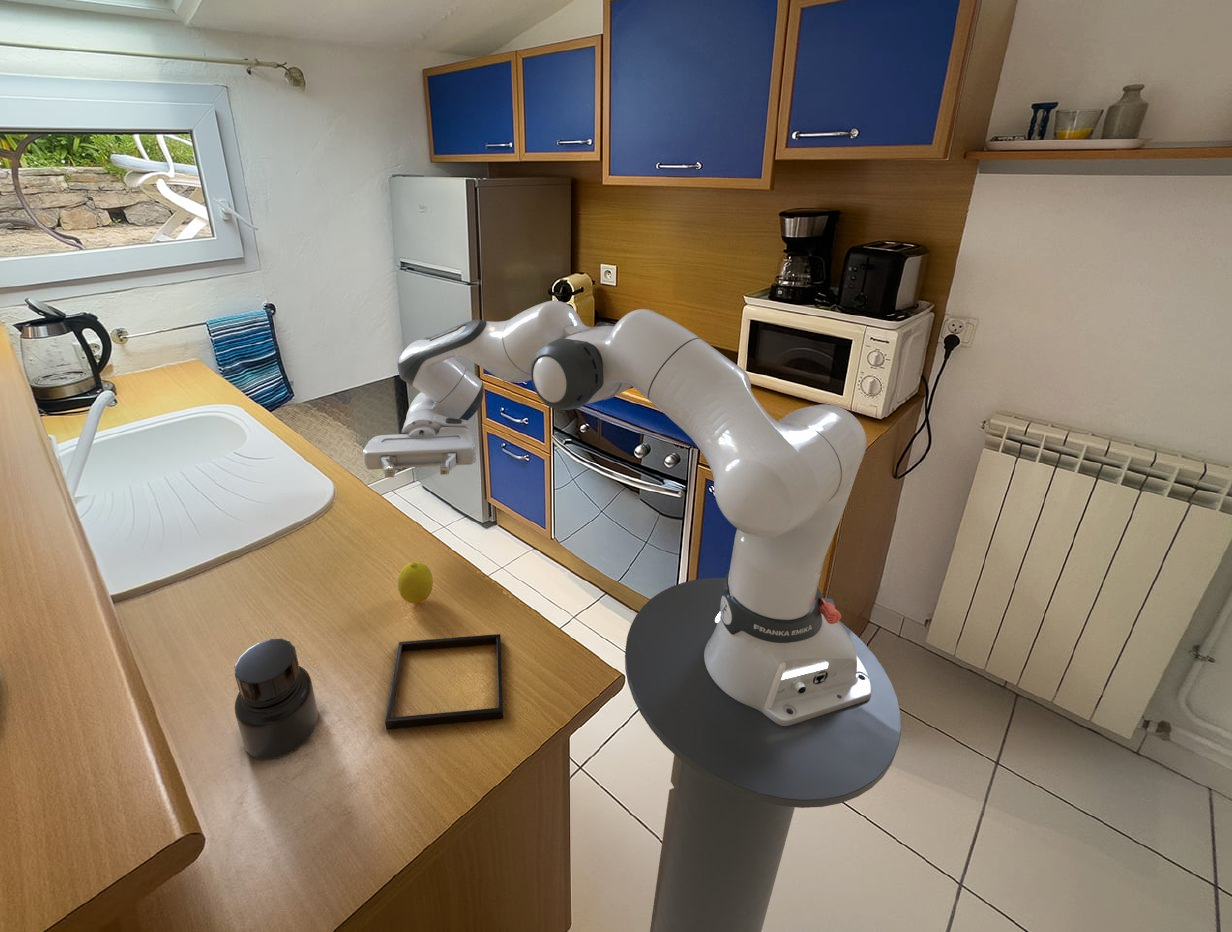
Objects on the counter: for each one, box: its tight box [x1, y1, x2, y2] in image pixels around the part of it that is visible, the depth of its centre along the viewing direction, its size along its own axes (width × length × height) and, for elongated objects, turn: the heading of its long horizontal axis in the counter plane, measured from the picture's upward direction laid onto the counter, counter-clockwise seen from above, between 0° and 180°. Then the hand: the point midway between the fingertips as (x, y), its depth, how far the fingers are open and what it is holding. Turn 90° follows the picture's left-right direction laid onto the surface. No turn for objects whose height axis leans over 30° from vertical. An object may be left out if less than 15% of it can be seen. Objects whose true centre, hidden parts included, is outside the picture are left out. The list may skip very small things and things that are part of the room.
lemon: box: [397, 561, 434, 605], centre depth 95 cm, size 6×6×8 cm
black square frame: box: [384, 633, 504, 731], centre depth 82 cm, size 15×13×2 cm
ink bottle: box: [234, 638, 319, 760], centre depth 73 cm, size 10×9×12 cm
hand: (416, 472), depth 100 cm, fingers open, 8 cm apart
